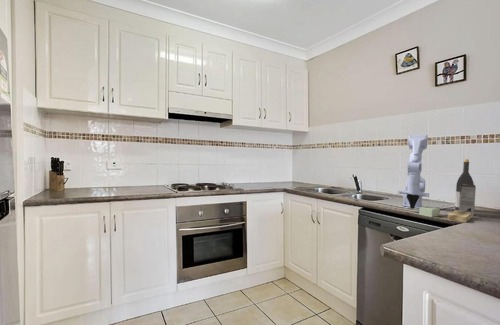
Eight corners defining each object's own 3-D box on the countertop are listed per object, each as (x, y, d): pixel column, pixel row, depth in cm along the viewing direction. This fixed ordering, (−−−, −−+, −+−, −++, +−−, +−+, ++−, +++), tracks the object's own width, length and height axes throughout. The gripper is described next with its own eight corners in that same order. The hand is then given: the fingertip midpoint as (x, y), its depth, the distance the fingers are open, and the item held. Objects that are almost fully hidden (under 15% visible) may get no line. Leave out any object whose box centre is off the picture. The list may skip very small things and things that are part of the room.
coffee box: (458, 211, 146) (460, 183, 146) (473, 213, 142) (475, 184, 142) (458, 214, 139) (460, 184, 139) (474, 216, 135) (475, 185, 135)
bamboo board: (447, 219, 127) (447, 214, 127) (454, 214, 137) (454, 210, 137) (465, 222, 122) (465, 217, 122) (471, 217, 132) (471, 212, 132)
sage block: (419, 214, 137) (419, 207, 136) (427, 213, 140) (427, 206, 140) (431, 217, 131) (432, 209, 131) (439, 215, 135) (440, 208, 135)
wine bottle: (456, 210, 150) (459, 159, 149) (453, 207, 157) (456, 159, 156) (474, 212, 146) (477, 159, 145) (470, 209, 153) (473, 159, 152)
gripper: (396, 182, 144) (395, 206, 144) (427, 185, 133) (425, 211, 134) (401, 182, 149) (399, 205, 149) (430, 185, 138) (429, 210, 138)
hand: (412, 208), depth 142 cm, fingers closed
